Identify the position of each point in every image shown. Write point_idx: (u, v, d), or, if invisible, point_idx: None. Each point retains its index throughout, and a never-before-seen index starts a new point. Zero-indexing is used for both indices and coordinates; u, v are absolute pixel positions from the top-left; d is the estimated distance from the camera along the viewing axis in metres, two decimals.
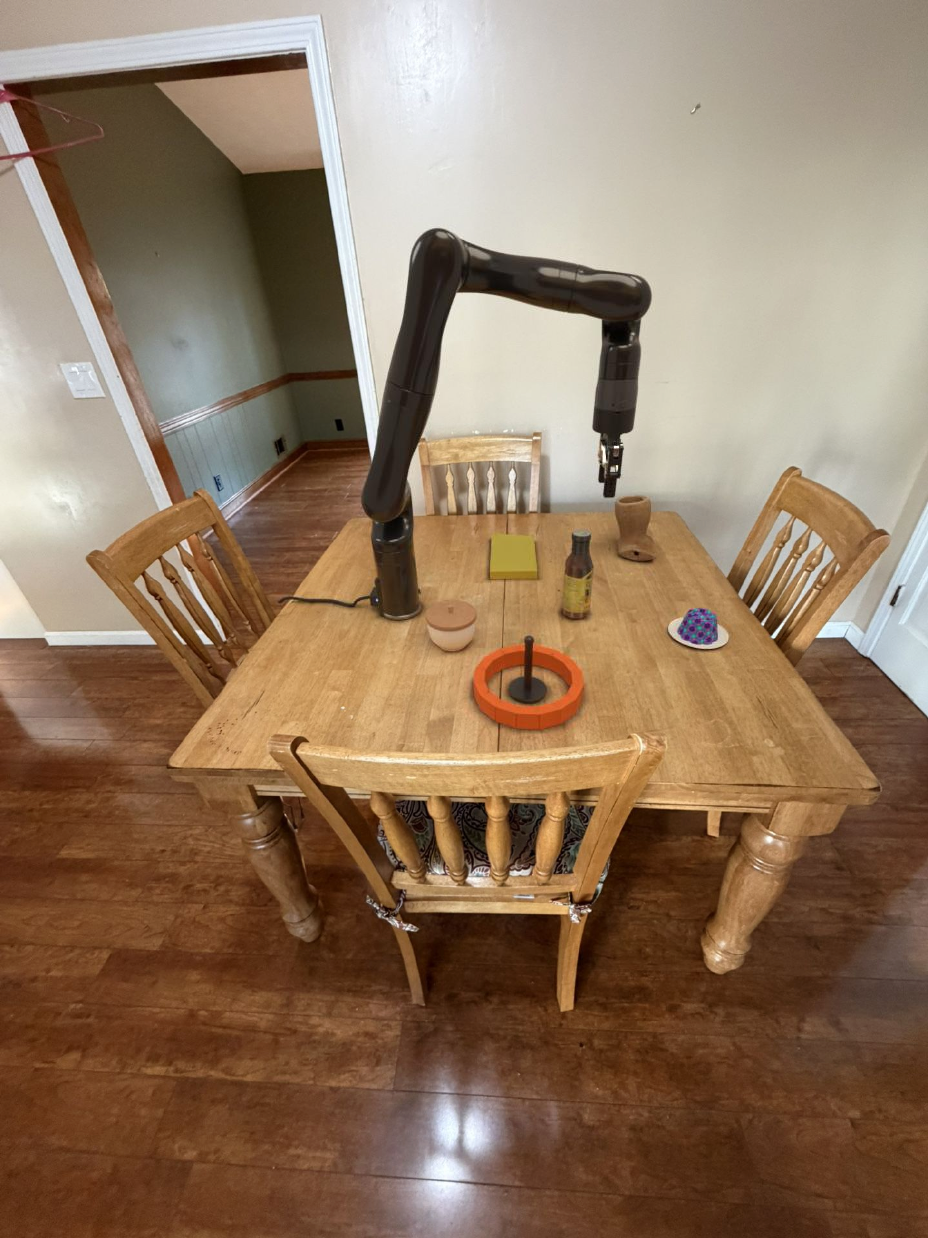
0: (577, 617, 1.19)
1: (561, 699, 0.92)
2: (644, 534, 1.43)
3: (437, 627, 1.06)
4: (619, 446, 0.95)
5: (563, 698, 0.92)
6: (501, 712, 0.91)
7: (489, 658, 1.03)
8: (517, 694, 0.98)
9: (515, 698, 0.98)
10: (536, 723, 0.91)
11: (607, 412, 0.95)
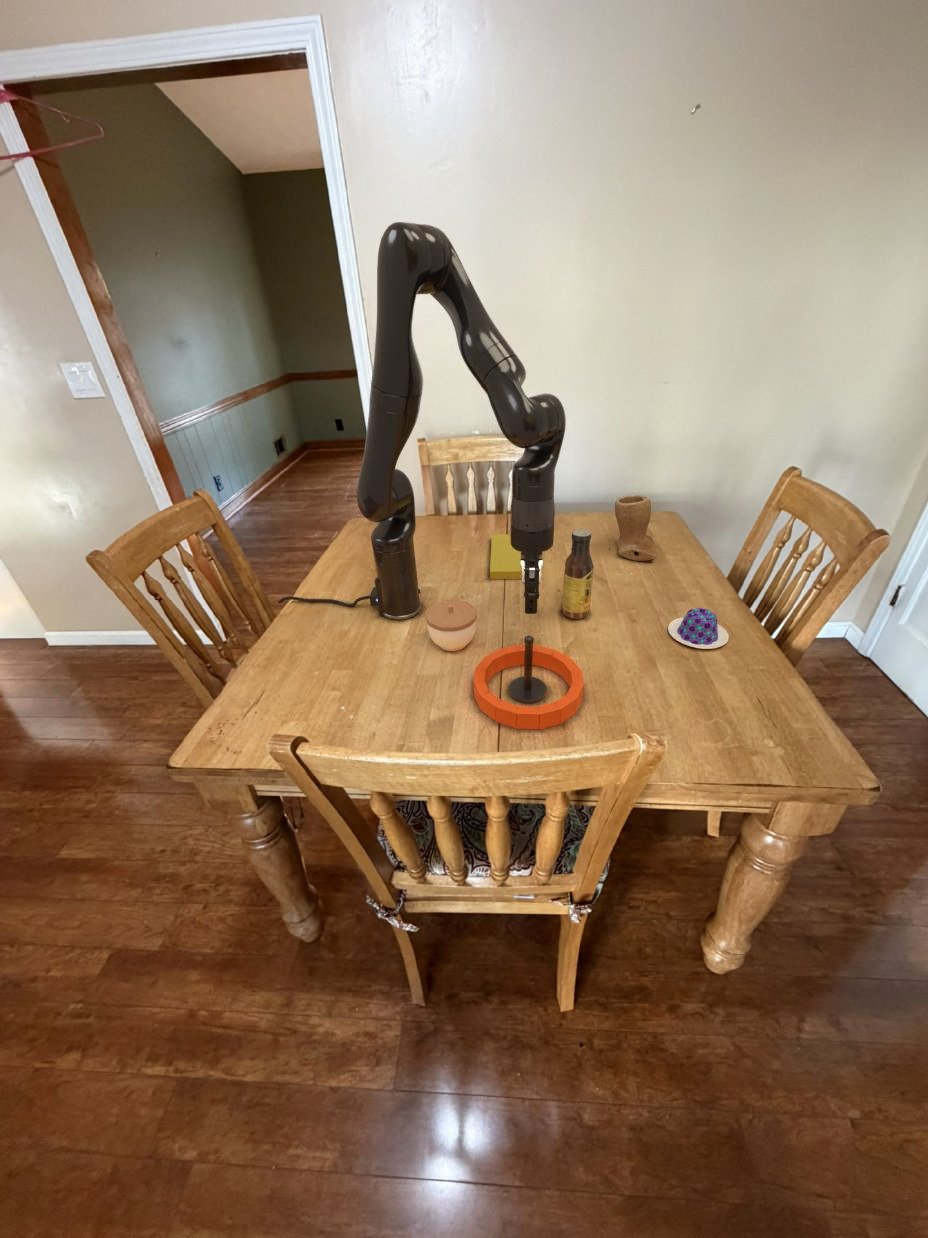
0: (577, 617, 1.19)
1: (561, 699, 0.92)
2: (644, 534, 1.43)
3: (437, 627, 1.06)
4: (535, 568, 0.89)
5: (563, 698, 0.92)
6: (501, 712, 0.91)
7: (489, 658, 1.03)
8: (517, 694, 0.98)
9: (515, 698, 0.98)
10: (536, 723, 0.91)
11: (522, 532, 0.89)
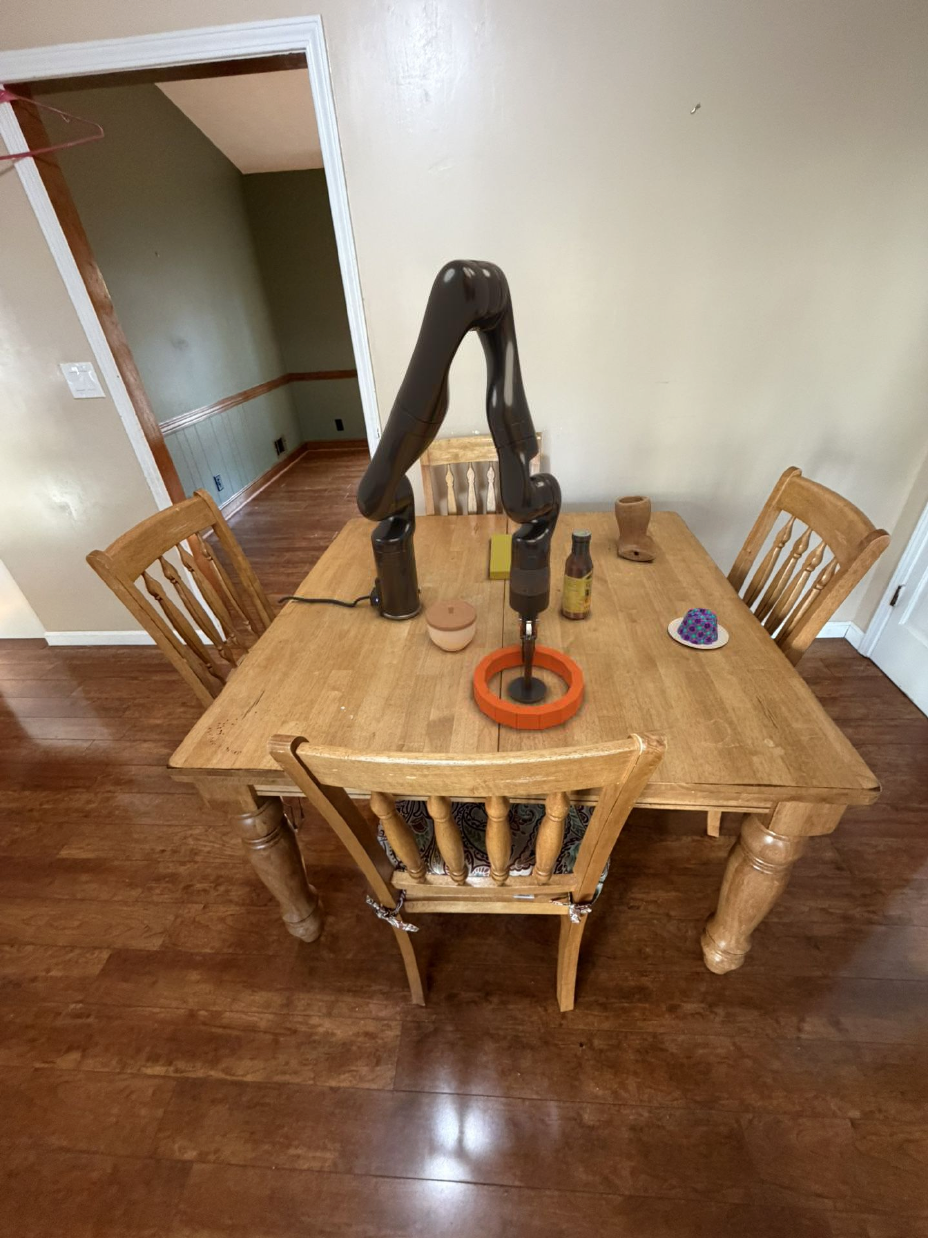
0: (577, 617, 1.19)
1: (561, 699, 0.92)
2: (644, 534, 1.43)
3: (437, 627, 1.06)
4: None
5: (563, 698, 0.92)
6: (501, 712, 0.91)
7: (489, 658, 1.03)
8: (517, 694, 0.98)
9: (515, 698, 0.98)
10: (536, 723, 0.91)
11: (520, 596, 0.95)
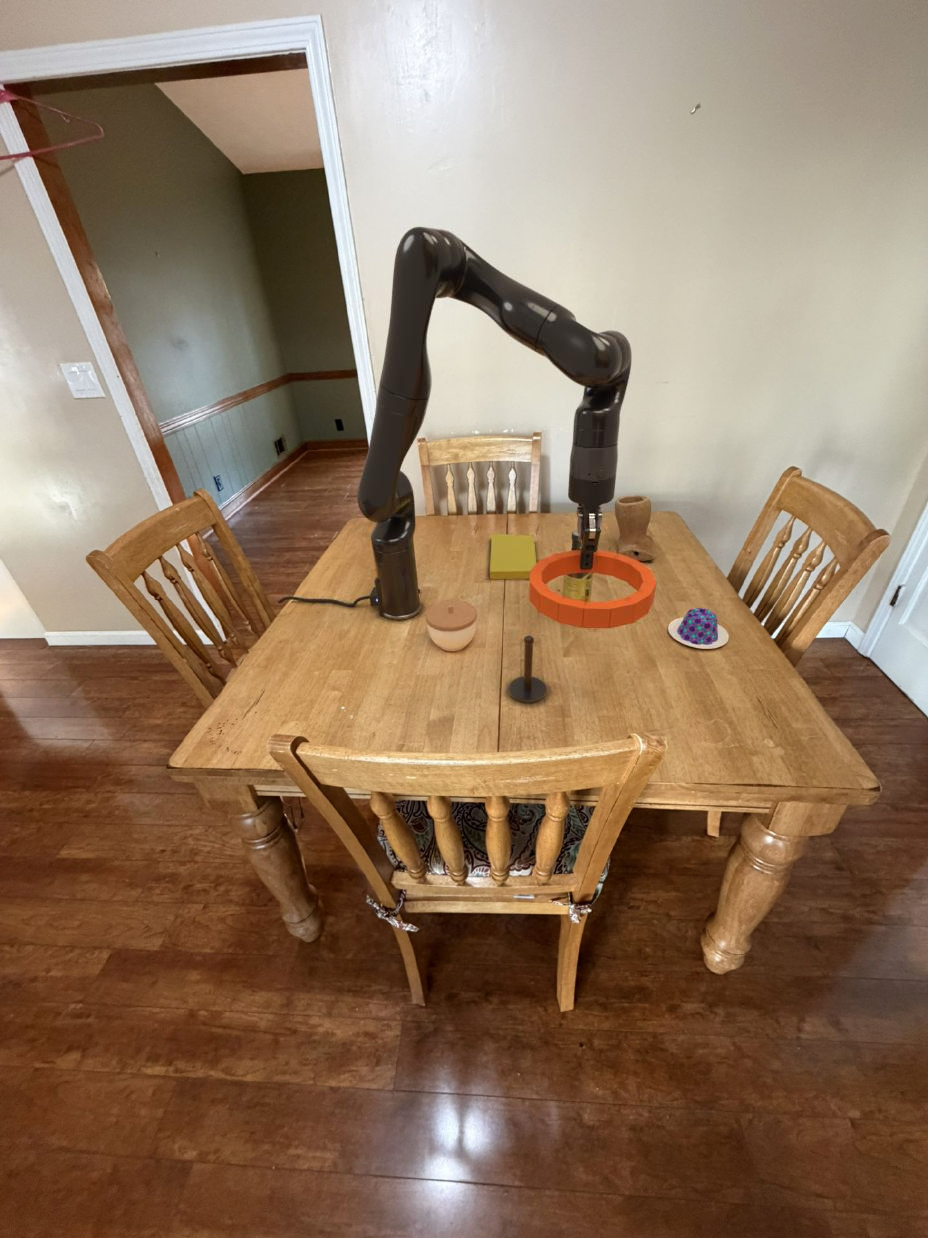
0: None
1: (633, 595, 0.81)
2: (644, 534, 1.43)
3: (437, 627, 1.06)
4: (596, 531, 0.85)
5: (635, 594, 0.81)
6: (565, 608, 0.80)
7: (544, 562, 0.92)
8: (517, 694, 0.98)
9: (515, 698, 0.98)
10: (606, 620, 0.79)
11: (583, 482, 0.84)
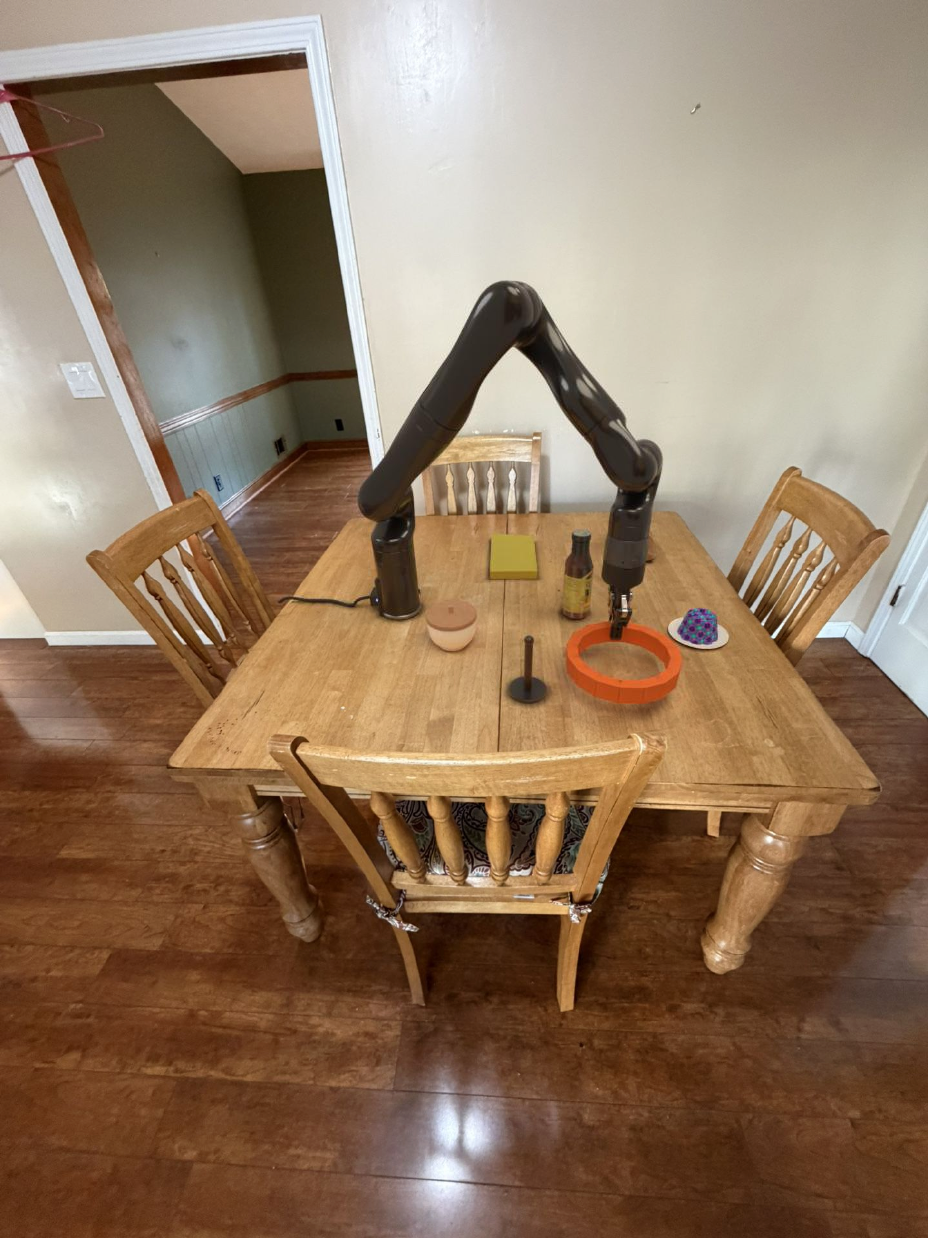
0: (577, 617, 1.19)
1: (663, 673, 0.90)
2: None
3: (437, 627, 1.06)
4: (628, 612, 0.94)
5: (665, 672, 0.90)
6: (602, 686, 0.89)
7: (578, 634, 1.01)
8: (517, 694, 0.98)
9: (515, 698, 0.98)
10: (639, 697, 0.88)
11: (617, 568, 0.93)
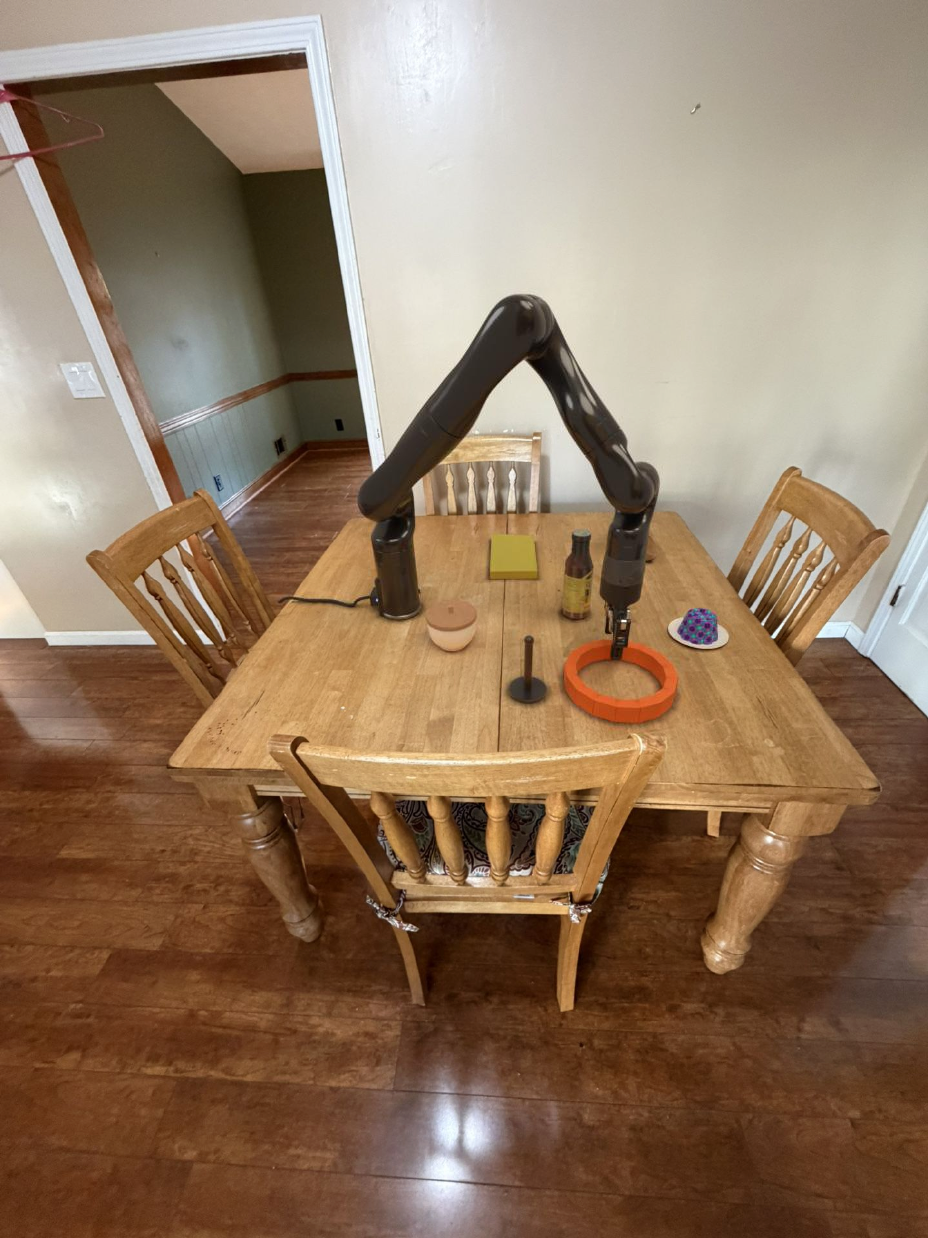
0: (577, 617, 1.19)
1: (659, 693, 0.93)
2: None
3: (437, 627, 1.06)
4: (626, 621, 0.95)
5: (661, 692, 0.93)
6: (600, 705, 0.92)
7: (577, 652, 1.03)
8: (517, 694, 0.98)
9: (515, 698, 0.98)
10: (636, 716, 0.91)
11: (614, 587, 0.95)
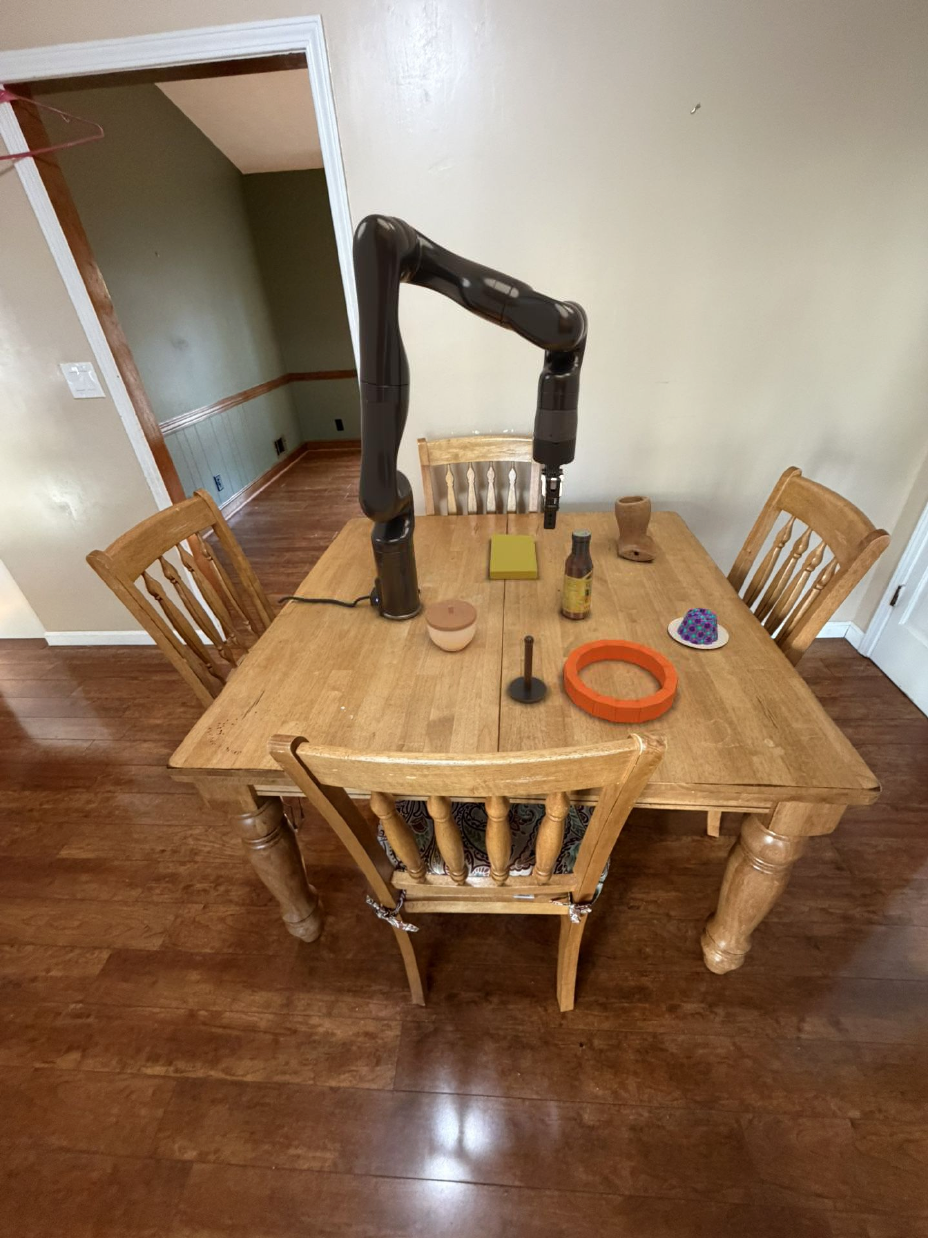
0: (577, 617, 1.19)
1: (659, 693, 0.93)
2: (644, 534, 1.43)
3: (437, 627, 1.06)
4: (556, 478, 0.91)
5: (661, 692, 0.93)
6: (600, 705, 0.92)
7: (577, 652, 1.03)
8: (517, 694, 0.98)
9: (515, 698, 0.98)
10: (636, 716, 0.91)
11: (545, 442, 0.91)
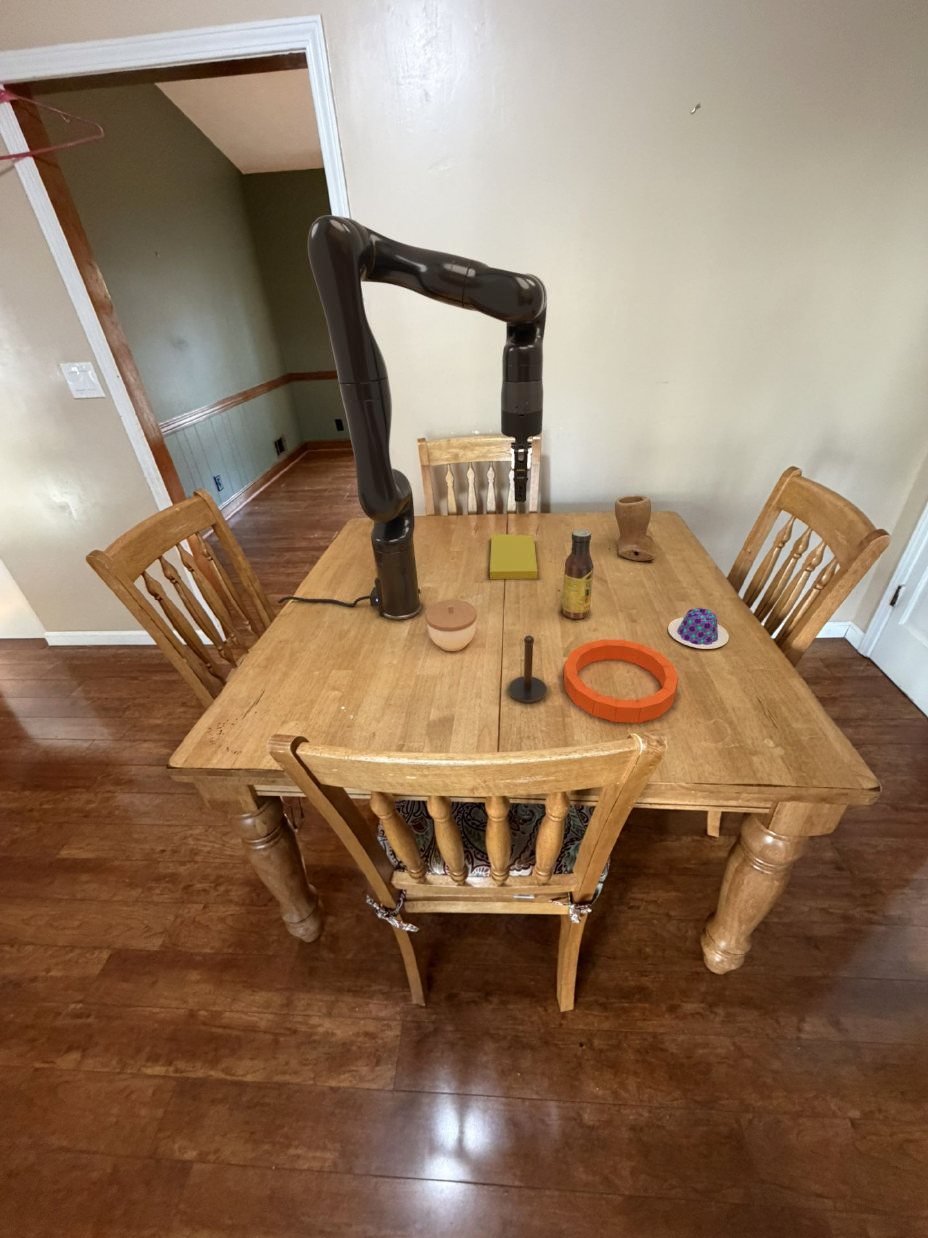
0: (577, 617, 1.19)
1: (659, 693, 0.93)
2: (644, 534, 1.43)
3: (437, 627, 1.06)
4: (524, 449, 0.93)
5: (661, 692, 0.93)
6: (600, 705, 0.92)
7: (577, 652, 1.03)
8: (517, 694, 0.98)
9: (515, 698, 0.98)
10: (636, 716, 0.91)
11: (511, 415, 0.93)
